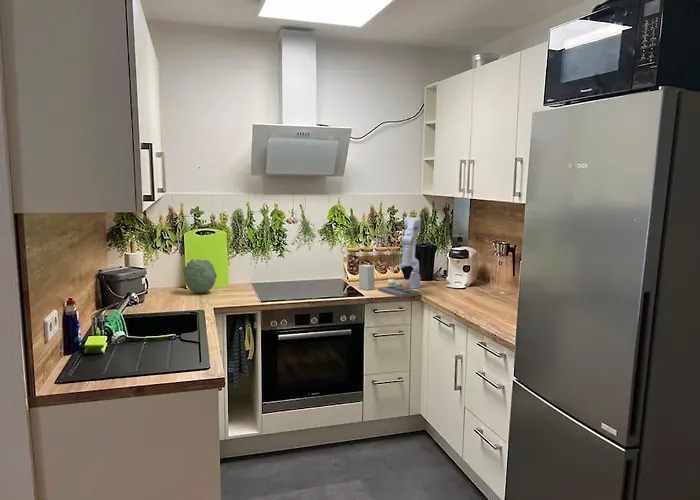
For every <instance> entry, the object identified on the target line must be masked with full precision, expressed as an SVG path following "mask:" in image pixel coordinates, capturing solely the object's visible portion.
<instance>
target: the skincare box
mask: <svg viewBox="0 0 700 500" xmlns="http://www.w3.org/2000/svg"><path fill="white" fill-rule="evenodd" d="M358 289H360V290H366V291H371V290H375V265H371V264H365V263H364V264H360V265H358Z"/></svg>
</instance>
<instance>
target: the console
mask: <svg viewBox="0 0 700 500" xmlns="http://www.w3.org/2000/svg"><path fill="white" fill-rule="evenodd" d="M377 291H378V292H380V291H381V293H384V294H387V293H388V294H387V295H390V294H391V296H394V297H398V298H401V299H403V298H404V299H405V298H410V297H416V296H421V291H420V290H419V291H418V290H415V289H413V288H412V289H409V290H406V289H403V287H395V285H386V286H380V287H379V286H378V288H377Z"/></svg>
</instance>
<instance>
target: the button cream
mask: <svg viewBox="0 0 700 500" xmlns="http://www.w3.org/2000/svg"><path fill="white" fill-rule="evenodd" d="M395 281H396V279H394V278H388V279H387V286H394V285H395Z"/></svg>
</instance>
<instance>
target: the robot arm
mask: <svg viewBox="0 0 700 500" xmlns="http://www.w3.org/2000/svg"><path fill="white" fill-rule="evenodd" d="M421 219H422V218H421V217H419V216H418V217H414V216H413V217H410V216H408V217H407V216H404V219H403V220H404V222H403V226H404V229H405V230H404V234H403V236H402V237H401V245H402V247H401V248H402V262H401V263H399V264H398V266H397V268H398V269H400V270H401V272H402V275H403V280H404V283H410V289H412V290H413V289H417V288H418V289H419V288H422V286H421V274H420V261H419V259H417V258H416V243H417V242H416V241H417V234H418V232H419V231H421V223H422V222H421V221H422V220H421Z"/></svg>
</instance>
